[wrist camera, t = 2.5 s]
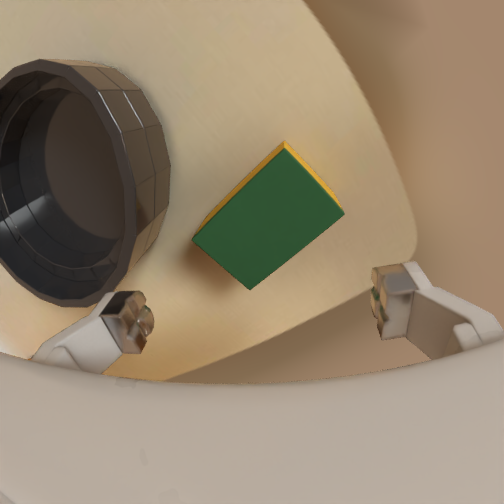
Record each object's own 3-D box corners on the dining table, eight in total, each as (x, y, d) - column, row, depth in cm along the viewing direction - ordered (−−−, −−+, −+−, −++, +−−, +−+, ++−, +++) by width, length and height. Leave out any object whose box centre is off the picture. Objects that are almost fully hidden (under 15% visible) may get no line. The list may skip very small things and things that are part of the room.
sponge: (284, 140, 16) (284, 148, 13) (334, 194, 17) (345, 214, 14) (206, 216, 19) (190, 240, 16) (255, 260, 20) (249, 290, 17)
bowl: (68, 28, 13) (17, 21, 8) (226, 160, 17) (202, 184, 12) (-2, 186, 19) (-41, 208, 14) (108, 299, 24) (78, 340, 19)
